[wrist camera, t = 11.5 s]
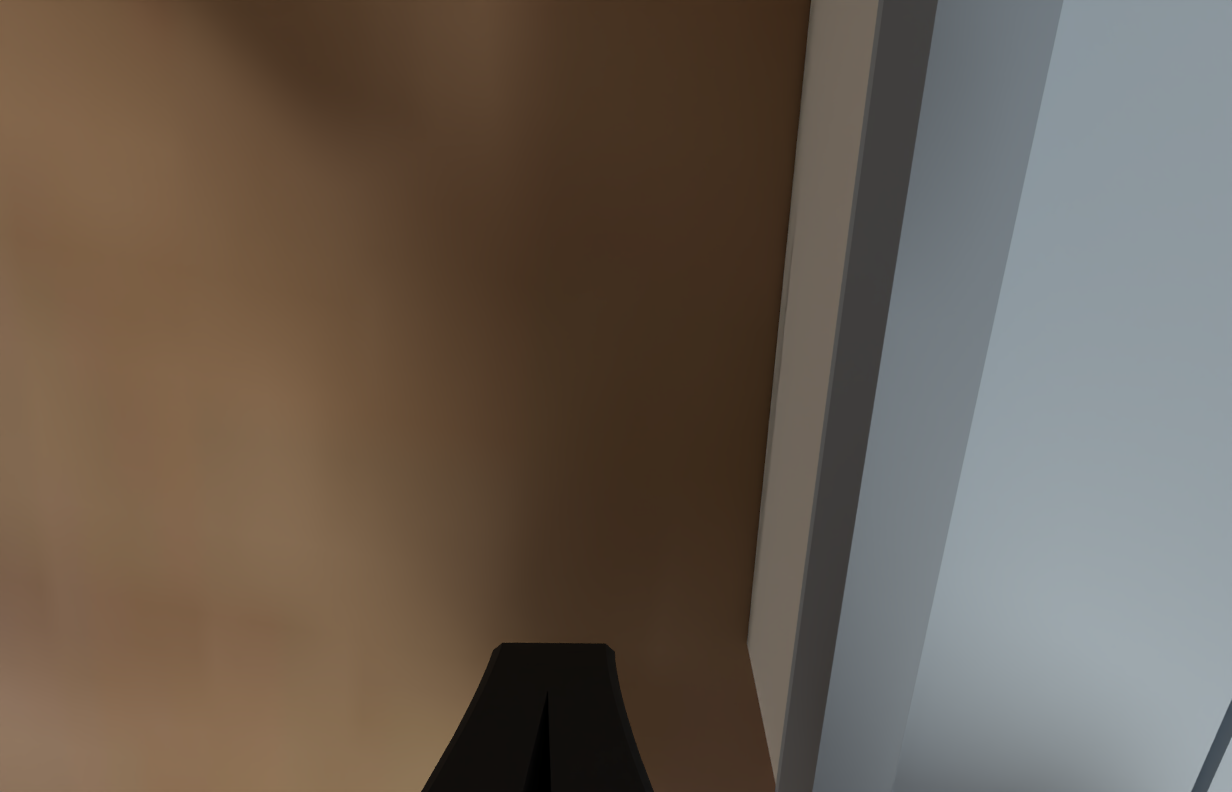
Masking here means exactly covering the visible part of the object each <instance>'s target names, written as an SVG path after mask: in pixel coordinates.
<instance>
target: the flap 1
mask: <svg viewBox="0 0 1232 792" xmlns="http://www.w3.org/2000/svg"><path fill="white" fill-rule="evenodd" d="M1231 700H1232V0H879V2H878V10H877V17H876V25H875V33H874V40H873V48H872V55H871V63H870V71H869V78H868V86H867V94H866V101H865V109H864V116H863V124H862V132H861V139H860V147H859V155H858V162H857V170H856V177H855V185H854V193H853V200H852V208H851V216H850V223H849V231H848V238H847V246H846V254H845V261H844V269H843V277H842V284H841V292H840V299H839V307H838V315H837V322H836V330H835V337H834V345H833V353H832V360H831V368H830V376H829V383H828V391H827V398H826V406H825V414H824V421H823V429H822V437H821V444H820V452H819V459H818V467H817V475H816V482H815V490H814V498H813V505H812V513H811V520H810V528H809V536H808V543H807V551H806V559H805V566H804V574H803V581H802V589H801V597H800V604H799V612H798V620H797V627H796V635H795V642H794V650H793V658H792V665H791V673H790V681H789V688H788V696H787V703H786V711H785V719H784V726H783V734H782V742H781V749H780V757H779V764H778V772H777V780H776V787H775V792H1191V791H1192V789H1193V787H1194V784H1195V782H1196V780H1197V777H1198V775H1199V773H1200V770H1201V768H1202V766H1203V764H1204V761H1205V759H1206V757H1207V754H1208V752H1209V750H1210V748H1211V745H1212V743H1213V741H1214V738H1215V736H1216V734H1217V732H1218V729H1219V727H1220V725H1221V722H1222V720H1223V718H1224V716H1225V713H1226V711H1227V709H1228V706H1229V704H1230V702H1231Z"/></svg>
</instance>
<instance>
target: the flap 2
mask: <svg viewBox="0 0 1232 792" xmlns="http://www.w3.org/2000/svg"><path fill="white" fill-rule="evenodd" d="M1191 792H1232V700H1231V702H1230V704H1229V706H1228V709H1227V711H1226V713H1225V716H1224V718H1223V720H1222V722H1221V725H1220V727H1219V729H1218V732H1217V734H1216V736H1215V738H1214V741H1213V743H1212V745H1211V748H1210V750H1209V752H1208V754H1207V757H1206V759H1205V761H1204V764H1203V766H1202V768H1201V770H1200V773H1199V775H1198V777H1197V780H1196V782H1195V784H1194V787H1193V789H1192V791H1191Z"/></svg>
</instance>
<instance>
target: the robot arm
mask: <svg viewBox="0 0 1232 792" xmlns="http://www.w3.org/2000/svg"><path fill="white" fill-rule="evenodd" d="M421 792H654V791H653V788H652V786H651V783H650V780H649V778H648V775H647V773H646V770H645V767H644V765H643V762H642V760H641V757H640V754H639V751H638V748H637V745H636V742H635V739H634V736H633V733H632V730H631V726H630V723H629V720H628V717H627V713H626V710H625V706H624V702H623V698H622V695H621V690H620V686H619V681H618V676H617V670H616V663H615V652H614V651H613V650H612V649H611V648H610V647H609V646H608V645H607V644H584V643H502V644H500V645H499V646H498V647H497V648H495V649H494V650H493V652H492V655H491V658H490V660H489V663H488V666H487V668H486V670H485V673H484V675H483V677H482V679H481V682H480V684H479V686H478V688H477V691H476V693H475V695H474V697H473V699H472V701H471V703H470V705H469V707H468V709H467V711H466V713H465V715H464V717H463V719H462V720H461V722H460V724H459V726H458V728H457V730H456V732H455V734H454V736H453V738H452V739H451V741H450V743H449V744H448V746H447V748H446V750H445V751H444V753H443V755H442V757H441V758H440V760H439V762H438V764H437V765H436V767H435V769H434V771H433V772H432V774H431V776H430V777H429V779H428V781H427V783H426V784H425V786H424V788H423V789H422V791H421Z"/></svg>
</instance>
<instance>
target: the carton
mask: <svg viewBox="0 0 1232 792" xmlns="http://www.w3.org/2000/svg"><path fill="white" fill-rule="evenodd" d="M878 2H879V0H811V6H810V16H809V26H808V36H807V46H806V56H805V66H804V76H803V86H802V96H801V106H800V116H799V126H798V136H797V146H796V156H795V166H794V176H793V186H792V196H791V206H790V216H789V226H788V236H787V246H786V256H785V267H784V277H783V287H782V297H781V307H780V317H779V327H778V337H777V347H776V357H775V367H774V377H773V387H772V397H771V407H770V417H769V427H768V437H767V447H766V457H765V467H764V477H763V487H762V497H761V507H760V517H759V527H758V537H757V547H756V557H755V567H754V577H753V587H752V597H751V607H750V617H749V627H748V637H747V646H748V651H749V656H750V661H751V666H752V671H753V676H754V681H755V685H756V690H757V695H758V700H759V705H760V710H761V715H762V720H763V725H764V730H765V735H766V740H767V744H768V749H769V754H770V759H771V764H772V769H773V774H774V779H775V784H776V780H777V772H778V764H779V757H780V749H781V742H782V734H783V726H784V719H785V711H786V703H787V696H788V688H789V681H790V673H791V665H792V658H793V650H794V642H795V635H796V627H797V620H798V612H799V604H800V597H801V589H802V581H803V574H804V566H805V559H806V551H807V543H808V536H809V528H810V520H811V513H812V505H813V498H814V490H815V482H816V475H817V467H818V459H819V452H820V444H821V437H822V429H823V421H824V414H825V406H826V398H827V391H828V383H829V376H830V368H831V360H832V353H833V345H834V337H835V330H836V322H837V315H838V307H839V299H840V292H841V284H842V277H843V269H844V261H845V254H846V246H847V238H848V231H849V223H850V216H851V208H852V200H853V193H854V185H855V177H856V170H857V162H858V155H859V147H860V139H861V132H862V124H863V116H864V109H865V101H866V94H867V86H868V78H869V71H870V63H871V55H872V48H873V40H874V33H875V25H876V17H877V10H878Z"/></svg>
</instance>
